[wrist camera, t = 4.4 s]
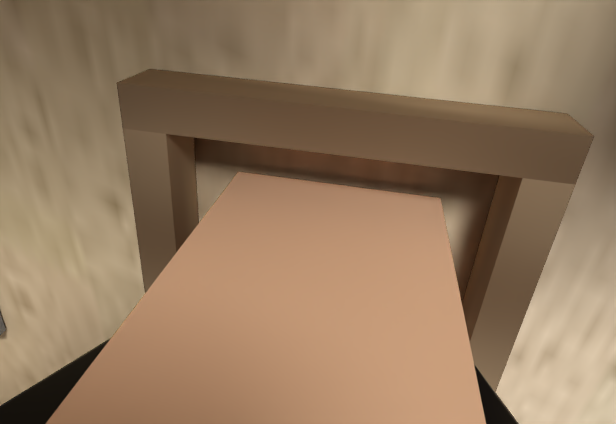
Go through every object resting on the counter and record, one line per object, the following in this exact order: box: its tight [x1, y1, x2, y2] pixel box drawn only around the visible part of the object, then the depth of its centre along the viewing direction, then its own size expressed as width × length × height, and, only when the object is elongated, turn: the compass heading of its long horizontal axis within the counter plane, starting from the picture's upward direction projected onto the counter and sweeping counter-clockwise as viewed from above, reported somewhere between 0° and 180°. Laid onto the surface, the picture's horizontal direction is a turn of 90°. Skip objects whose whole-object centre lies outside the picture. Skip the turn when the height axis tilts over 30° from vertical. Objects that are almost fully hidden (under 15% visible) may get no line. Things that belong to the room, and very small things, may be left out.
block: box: [46, 172, 486, 424], centre depth 7 cm, size 4×4×7 cm
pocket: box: [117, 69, 594, 392], centre depth 10 cm, size 8×8×1 cm
